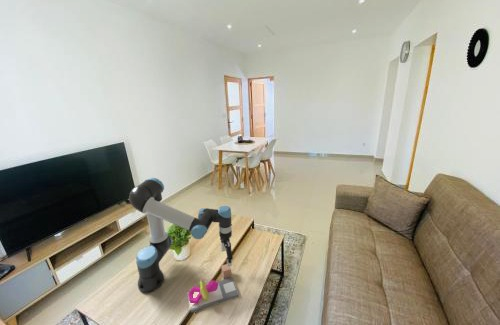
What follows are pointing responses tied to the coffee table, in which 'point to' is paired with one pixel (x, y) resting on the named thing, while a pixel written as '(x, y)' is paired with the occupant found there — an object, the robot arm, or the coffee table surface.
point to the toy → (202, 291)
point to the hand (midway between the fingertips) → (226, 258)
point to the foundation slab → (218, 295)
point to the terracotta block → (226, 271)
